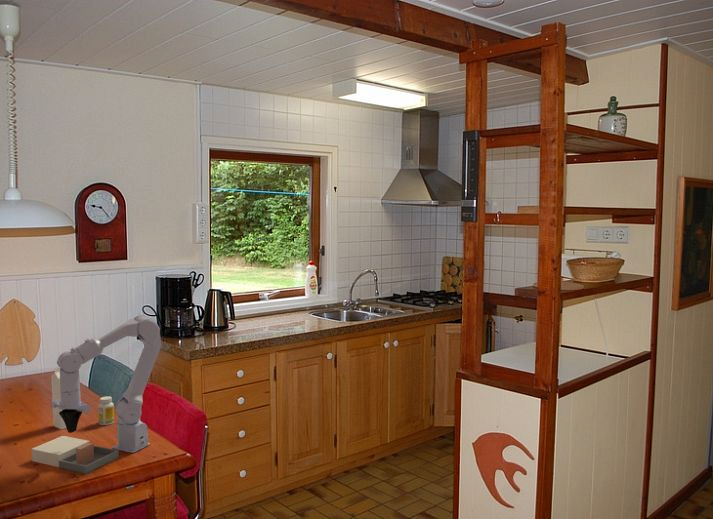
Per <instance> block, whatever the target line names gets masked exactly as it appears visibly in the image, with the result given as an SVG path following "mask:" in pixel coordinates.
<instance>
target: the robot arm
mask: <svg viewBox="0 0 713 519" xmlns="http://www.w3.org/2000/svg"><path fill="white" fill-rule="evenodd" d="M160 331H161V328H160V326H159V325H158V323H157V322H156V321H155V320H154V319H152V318H148V317H147V316H145V315H141V314H139V315H136V316H134V317H133V318H131V319H128V320H127V321H126V322H124V323H123V324H121V325H119V326H118V327H116V328H114V329H112V330H111V331H110V332H108V333H106V334H105V335H103V336H101V337H99V338H97V339H96V338H91V339H89V338H87V339H85V340H84V342H83V343H82V344H79V345H78V346H76V347H72V348H70V349H69V351H64V352H62V353H60V355H59V356H58V357H57V360H56V365H57V366H58V368H60V397H61V400H55V401H51V408H52V409H53V408H55V407H58V408H59V409H61V410H62V411H60V412H59V415H60V416H61V417H62V419H63V420H64V422H65V425H66V428H65V429H66V430H67V433H70V434H71V433H75V432H77V428H78V424H79V420H80V418H81V415H82V414H87V413H90V412H92V411H91V410H92V409H91V405H90V404H87V403H84V402H83V401H81V378H80V369H81V366H82V365H84V364H86V363H88V362H89V361H91V360H93V359H95V358H96V357H98V356H100V355H102V353H103V351H104V349H105V348H107V347H108V346H110V345H112V344H115V343H116V342H118V341H120V340H122V339H124V338H126V337H136V338H137V337H139V338H140V340H141V342H142V344H143V349H142V351H141V353H140V356H139V358H138V362H137V364H136V367H135V369H134V371H133V374H132V376H131V379H130V382H129V385H128V387H127V389H126V390H125V391H124V392H123V393H122V396H121V397H120V399H118V401H117V402H116V403H115V405H114V413H116V415H118V417H117V419H116V429H117V430H116V432H117V433H116V434H117V436H116V437H117V443H116V444H115V445H114V446H111V449H114V450H119V451H122V452H127V453H131V454H132V453H136V452H138V451H140V450H143V449H144V448H146V447H148V446H149V445H150V444H151V443H150V442H149V429H148V425H147V424H146V423H145V422H143V421H141V417H142V406H143V401H144V400H143V394H144V393H145V392H144V391H145V389H146V387H147V384H148V381H149V379H150V376H151V374H152V371H153V369H154V366H155V363H156V360H157V358H158V356H159V353H160V350H161V348H162V340H161V332H160Z"/></svg>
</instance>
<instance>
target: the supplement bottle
mask: <svg viewBox="0 0 713 519" xmlns="http://www.w3.org/2000/svg"><path fill="white" fill-rule="evenodd" d="M112 401H113V398H112V396H106V395H105V396H102V397H100V399H99V404H98V405H97V406H98V407H97V409H98V410H97V411H98V424H99V426H108V425H112V424H113V423H115V405H114V402H112Z"/></svg>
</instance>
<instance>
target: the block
mask: <svg viewBox="0 0 713 519" xmlns="http://www.w3.org/2000/svg"><path fill="white" fill-rule="evenodd" d="M92 459H94V443H92V442H90V443H87V444H84V445H82V446H80V447H78V448H76V462H77V464H81V465H82V464H84V463H86V462H88V461H90V460H92Z"/></svg>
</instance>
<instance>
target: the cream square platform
mask: <svg viewBox="0 0 713 519" xmlns="http://www.w3.org/2000/svg"><path fill="white" fill-rule="evenodd" d="M87 443H91V441H90V440H86V439H80V438H76V437H70V436H67V435H61V436H58V437H56V438H55V439H52V440H50V441H47V442H45V443H42V444H38V446H35V447H32V448H31V449H30V450H31V461H32V462H35V463H38V464H44V465H48V466H53V467H56V468H59V460H61V459H63V458H65V457H68V456H70V455H72V454H74V453H76V448H78V447H80V446H82V445H84V444H87Z"/></svg>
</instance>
